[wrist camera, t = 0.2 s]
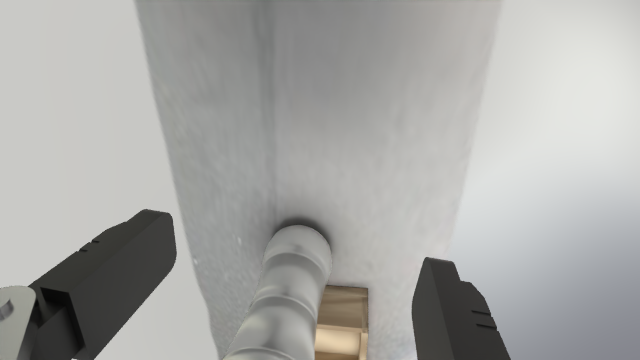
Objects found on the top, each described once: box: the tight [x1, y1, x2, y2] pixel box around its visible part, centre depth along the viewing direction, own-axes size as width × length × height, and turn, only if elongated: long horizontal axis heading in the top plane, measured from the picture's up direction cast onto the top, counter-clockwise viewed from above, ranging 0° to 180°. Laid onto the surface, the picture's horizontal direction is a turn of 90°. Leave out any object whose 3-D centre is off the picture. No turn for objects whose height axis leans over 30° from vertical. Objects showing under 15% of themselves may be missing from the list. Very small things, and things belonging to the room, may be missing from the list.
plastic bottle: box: [222, 225, 332, 360], centre depth 23 cm, size 6×7×20 cm
